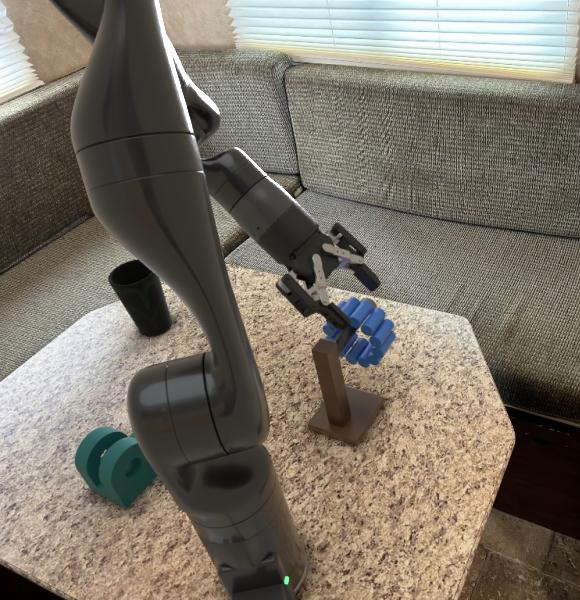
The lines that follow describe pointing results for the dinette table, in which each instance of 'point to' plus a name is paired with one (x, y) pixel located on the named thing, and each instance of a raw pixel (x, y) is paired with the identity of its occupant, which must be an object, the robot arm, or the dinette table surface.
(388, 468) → the dinette table surface
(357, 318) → the blue ribbed cylinder bundle
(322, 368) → the tape stand
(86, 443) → the bracket
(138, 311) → the cup
